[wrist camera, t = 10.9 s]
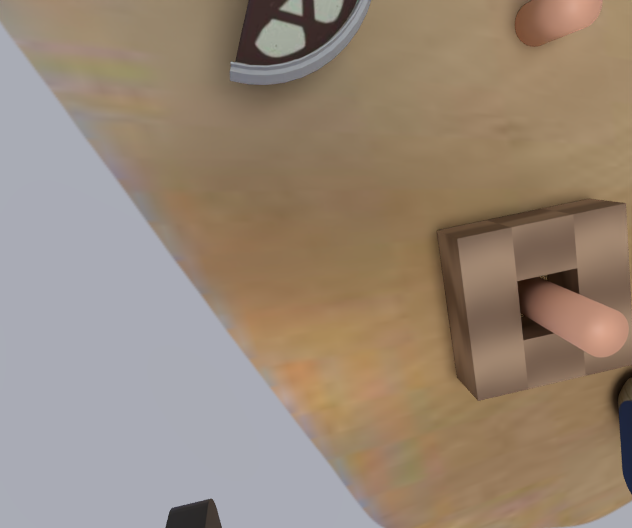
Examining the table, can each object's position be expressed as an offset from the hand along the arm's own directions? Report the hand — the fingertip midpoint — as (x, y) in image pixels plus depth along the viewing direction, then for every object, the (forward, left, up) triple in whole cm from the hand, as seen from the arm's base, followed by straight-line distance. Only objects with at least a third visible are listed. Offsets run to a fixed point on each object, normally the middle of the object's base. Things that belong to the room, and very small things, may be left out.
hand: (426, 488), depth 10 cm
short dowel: (-12, +19, -28) cm, 36 cm away
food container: (-15, +3, -28) cm, 32 cm away
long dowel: (+7, +16, -28) cm, 33 cm away
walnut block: (+7, +16, -28) cm, 33 cm away
